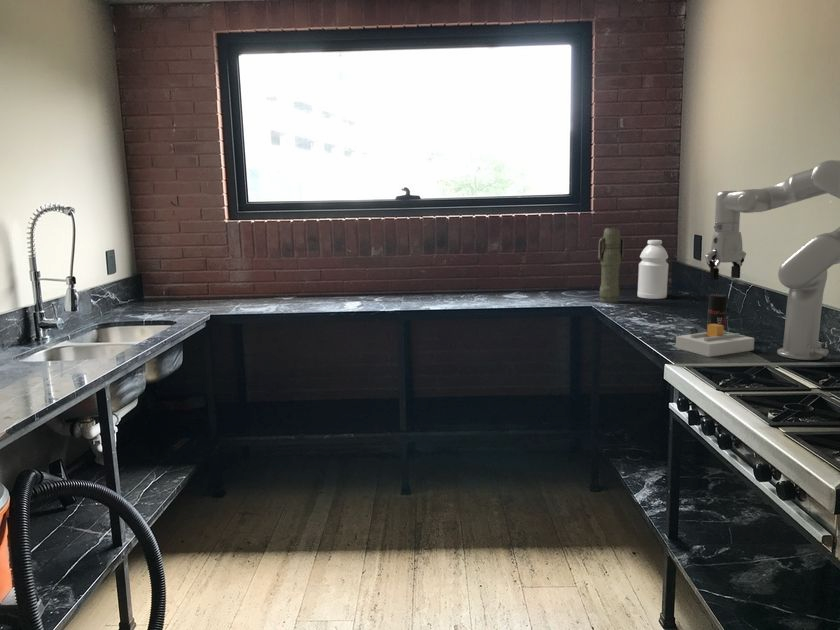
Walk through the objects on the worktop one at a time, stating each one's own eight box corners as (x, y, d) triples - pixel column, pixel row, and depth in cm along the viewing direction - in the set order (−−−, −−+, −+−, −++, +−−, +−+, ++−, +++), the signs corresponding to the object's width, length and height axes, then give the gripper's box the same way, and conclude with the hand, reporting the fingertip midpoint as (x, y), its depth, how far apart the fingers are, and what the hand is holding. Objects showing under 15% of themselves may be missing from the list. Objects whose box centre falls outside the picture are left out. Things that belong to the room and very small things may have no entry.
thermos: (593, 300, 325) (595, 227, 318) (615, 299, 327) (618, 227, 321) (602, 303, 316) (605, 228, 310) (624, 302, 319) (628, 227, 313)
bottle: (633, 294, 342) (636, 239, 337) (661, 294, 341) (664, 239, 336) (641, 299, 328) (644, 241, 323) (670, 299, 328) (673, 241, 323)
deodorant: (714, 338, 240) (716, 296, 237) (702, 335, 246) (705, 294, 243) (728, 337, 242) (731, 296, 239) (716, 334, 247) (719, 293, 245)
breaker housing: (753, 350, 222) (754, 335, 222) (708, 356, 214) (709, 341, 213) (719, 341, 235) (719, 327, 234) (675, 347, 227) (676, 333, 226)
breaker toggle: (723, 337, 223) (724, 325, 222) (716, 338, 221) (717, 326, 221) (713, 335, 226) (714, 323, 226) (706, 336, 225) (707, 324, 224)
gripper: (716, 229, 220) (714, 281, 223) (755, 227, 227) (752, 278, 229) (698, 229, 227) (696, 279, 230) (736, 227, 233) (734, 276, 236)
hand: (724, 278), depth 229 cm, fingers open, 9 cm apart
